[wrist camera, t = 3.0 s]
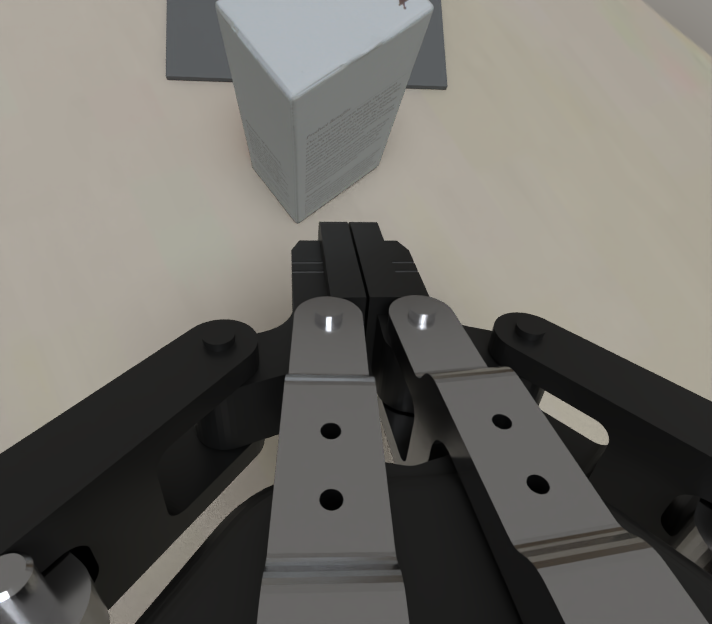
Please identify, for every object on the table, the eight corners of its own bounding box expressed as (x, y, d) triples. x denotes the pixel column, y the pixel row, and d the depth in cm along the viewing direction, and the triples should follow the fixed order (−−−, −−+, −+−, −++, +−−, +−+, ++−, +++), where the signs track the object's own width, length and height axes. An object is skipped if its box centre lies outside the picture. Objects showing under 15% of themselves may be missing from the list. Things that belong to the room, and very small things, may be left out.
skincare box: (333, 110, 28) (361, -92, 16) (379, 167, 27) (442, 6, 16) (247, 168, 26) (208, -3, 15) (295, 228, 26) (294, 103, 15)
